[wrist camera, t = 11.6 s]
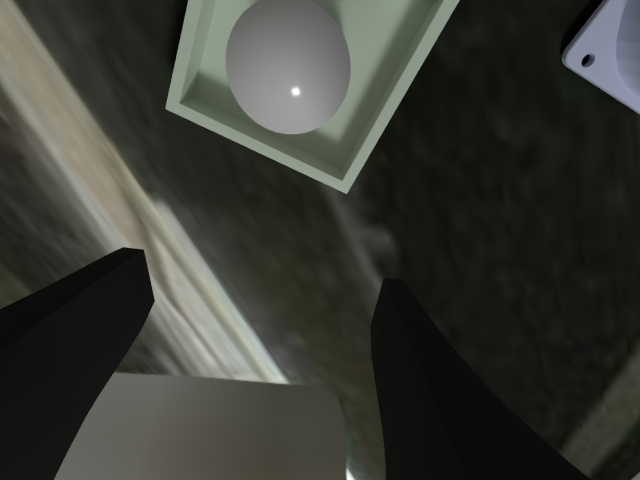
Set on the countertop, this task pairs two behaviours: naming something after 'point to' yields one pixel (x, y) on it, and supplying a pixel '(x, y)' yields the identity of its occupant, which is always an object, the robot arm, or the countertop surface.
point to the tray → (361, 98)
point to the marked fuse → (288, 65)
